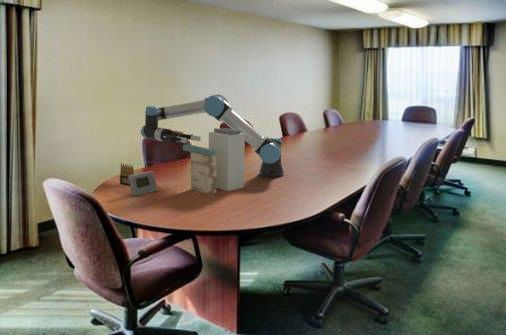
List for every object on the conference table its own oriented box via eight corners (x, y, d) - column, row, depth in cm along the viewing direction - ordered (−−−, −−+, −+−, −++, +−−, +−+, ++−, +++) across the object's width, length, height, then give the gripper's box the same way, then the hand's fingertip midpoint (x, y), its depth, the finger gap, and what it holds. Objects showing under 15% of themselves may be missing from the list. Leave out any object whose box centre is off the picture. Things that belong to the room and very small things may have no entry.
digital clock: (132, 197, 229) (131, 177, 226) (124, 193, 235) (123, 173, 233) (161, 192, 239) (160, 172, 237) (152, 189, 246) (152, 169, 243)
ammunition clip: (135, 186, 251) (134, 164, 249) (132, 186, 250) (131, 165, 247) (122, 183, 257) (121, 162, 254) (119, 183, 255) (118, 163, 253)
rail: (187, 149, 252) (187, 144, 251) (215, 155, 235) (215, 149, 234) (182, 150, 250) (182, 144, 249) (210, 156, 233) (210, 150, 232)
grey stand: (225, 182, 263) (225, 127, 256) (244, 187, 252) (244, 129, 245) (208, 185, 254) (208, 128, 248) (227, 191, 243) (228, 131, 237)
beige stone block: (199, 187, 251) (199, 151, 247) (216, 192, 241) (216, 155, 237) (191, 188, 247) (190, 152, 242) (207, 194, 237) (207, 156, 233)
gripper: (176, 139, 280) (205, 144, 271) (149, 142, 259) (179, 148, 249) (177, 127, 279) (206, 132, 269) (150, 129, 257) (180, 134, 248)
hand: (193, 139), depth 259 cm, fingers open, 13 cm apart
